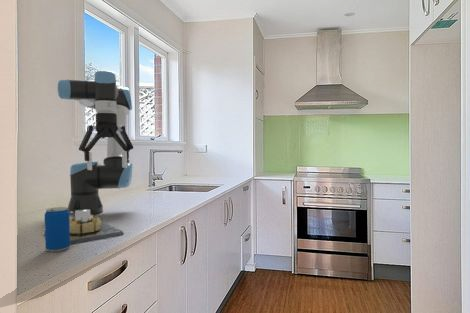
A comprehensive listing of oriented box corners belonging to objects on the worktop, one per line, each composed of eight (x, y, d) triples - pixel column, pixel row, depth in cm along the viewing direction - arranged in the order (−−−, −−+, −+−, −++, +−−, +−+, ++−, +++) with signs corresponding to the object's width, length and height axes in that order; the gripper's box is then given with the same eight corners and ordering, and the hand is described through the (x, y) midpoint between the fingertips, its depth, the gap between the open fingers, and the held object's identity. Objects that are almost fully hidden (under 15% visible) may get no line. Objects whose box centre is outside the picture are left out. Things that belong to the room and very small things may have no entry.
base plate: (44, 233, 122) (43, 210, 121) (102, 224, 134) (102, 203, 134) (59, 246, 106) (58, 219, 106) (123, 234, 119) (122, 210, 119)
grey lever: (105, 229, 120) (104, 217, 120) (70, 235, 113) (70, 222, 112) (84, 219, 137) (84, 209, 137) (53, 223, 130) (53, 213, 130)
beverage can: (46, 247, 105) (45, 208, 104) (70, 245, 107) (69, 206, 107) (44, 253, 99) (43, 211, 98) (69, 250, 101) (68, 209, 101)
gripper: (75, 110, 121) (77, 171, 122) (141, 113, 138) (142, 167, 139) (68, 112, 127) (70, 170, 128) (132, 114, 144) (133, 166, 145)
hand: (107, 168), depth 134 cm, fingers open, 13 cm apart
